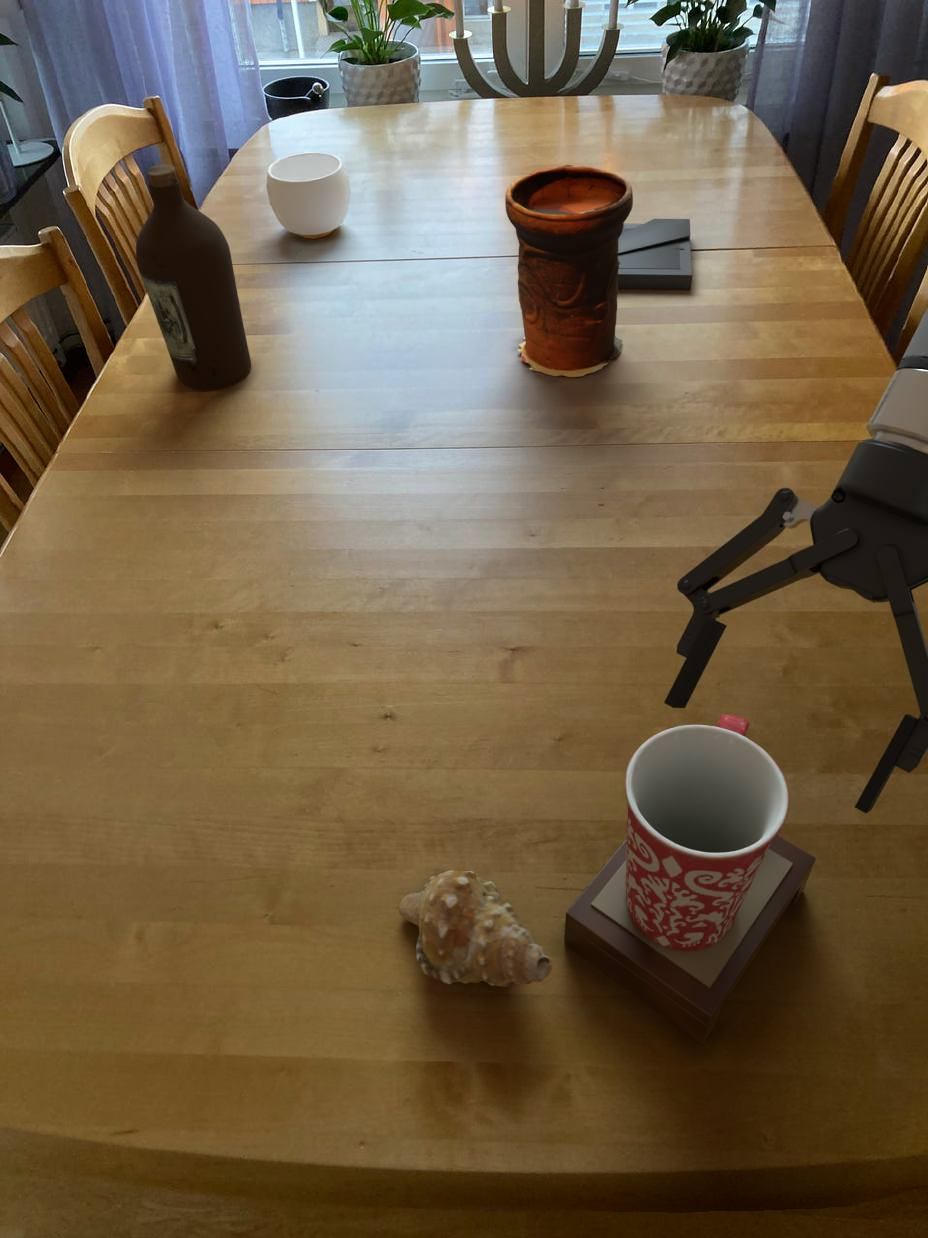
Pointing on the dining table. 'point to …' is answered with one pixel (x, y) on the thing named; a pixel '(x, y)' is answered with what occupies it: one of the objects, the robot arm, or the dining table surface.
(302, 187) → the cup
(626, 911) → the brown rectangular block
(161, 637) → the dining table surface
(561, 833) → the dining table surface
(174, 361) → the olive oil
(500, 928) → the seashell
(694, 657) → the robot arm
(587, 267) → the vessel
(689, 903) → the mug
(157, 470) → the dining table surface
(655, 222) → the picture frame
